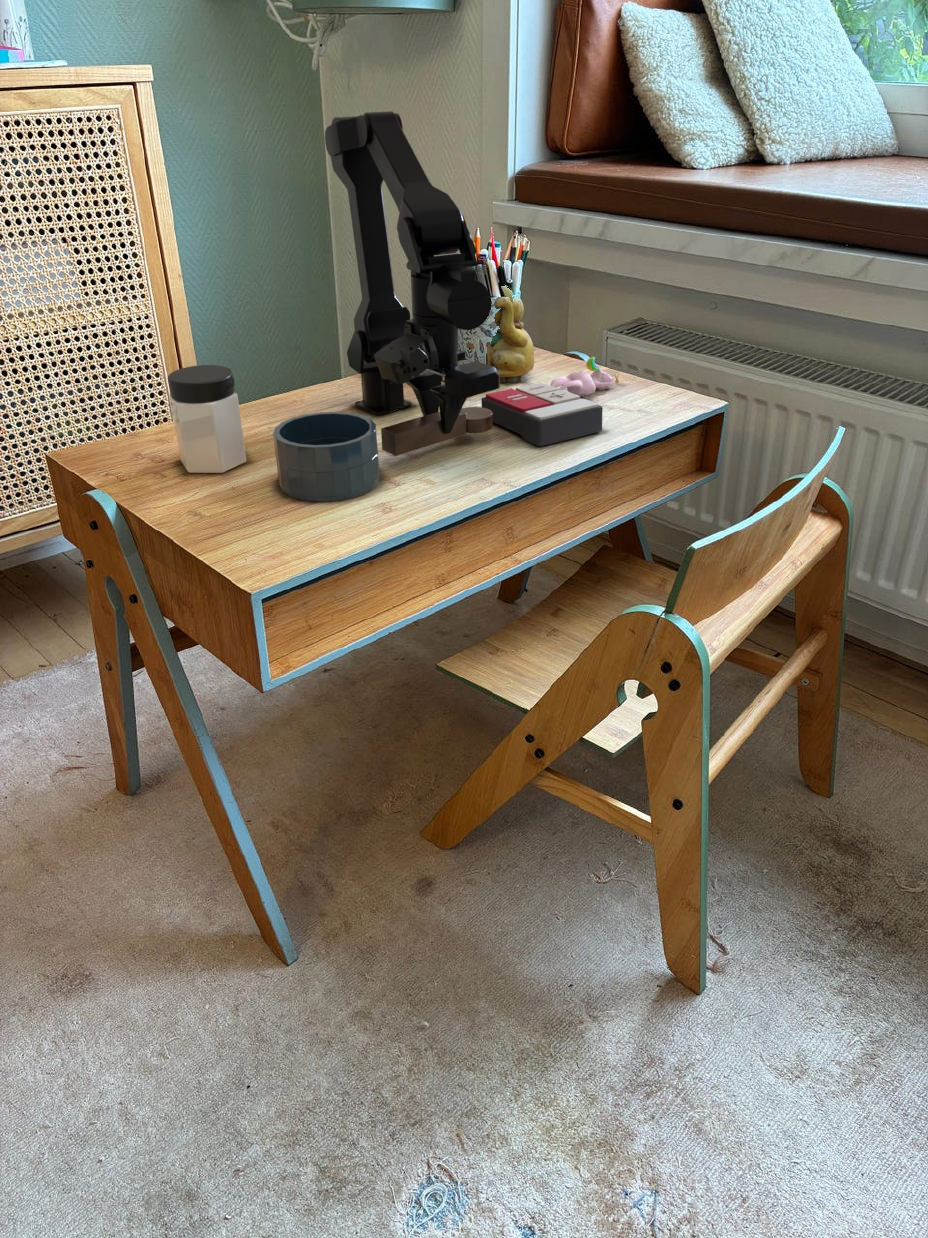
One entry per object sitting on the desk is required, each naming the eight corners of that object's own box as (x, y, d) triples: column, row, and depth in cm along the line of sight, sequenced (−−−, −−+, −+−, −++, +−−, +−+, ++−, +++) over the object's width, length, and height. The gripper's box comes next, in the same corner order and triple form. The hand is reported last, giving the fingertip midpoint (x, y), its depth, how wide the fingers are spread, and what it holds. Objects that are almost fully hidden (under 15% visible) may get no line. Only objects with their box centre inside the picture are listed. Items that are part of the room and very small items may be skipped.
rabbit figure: (593, 388, 159) (536, 396, 148) (598, 350, 157) (541, 356, 146) (625, 396, 155) (569, 405, 145) (631, 357, 153) (575, 364, 142)
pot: (261, 479, 126) (254, 427, 122) (343, 455, 132) (339, 404, 129) (314, 510, 117) (308, 455, 114) (399, 482, 124) (396, 429, 120)
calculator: (541, 379, 147) (604, 400, 136) (542, 407, 149) (603, 431, 138) (479, 392, 142) (538, 415, 131) (480, 421, 145) (539, 447, 133)
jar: (253, 467, 129) (240, 378, 123) (191, 479, 126) (175, 388, 120) (235, 446, 136) (223, 360, 130) (176, 456, 133) (160, 369, 127)
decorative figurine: (477, 370, 164) (476, 277, 156) (525, 366, 166) (526, 273, 158) (492, 387, 156) (492, 290, 148) (542, 383, 158) (544, 286, 150)
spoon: (400, 458, 126) (399, 436, 124) (377, 447, 129) (375, 425, 128) (500, 427, 135) (500, 406, 134) (475, 417, 139) (475, 397, 137)
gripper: (340, 309, 126) (350, 426, 134) (430, 338, 113) (434, 465, 121) (409, 295, 132) (415, 408, 140) (502, 321, 119) (502, 443, 127)
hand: (438, 430), depth 132 cm, fingers closed on spoon, 3 cm apart
